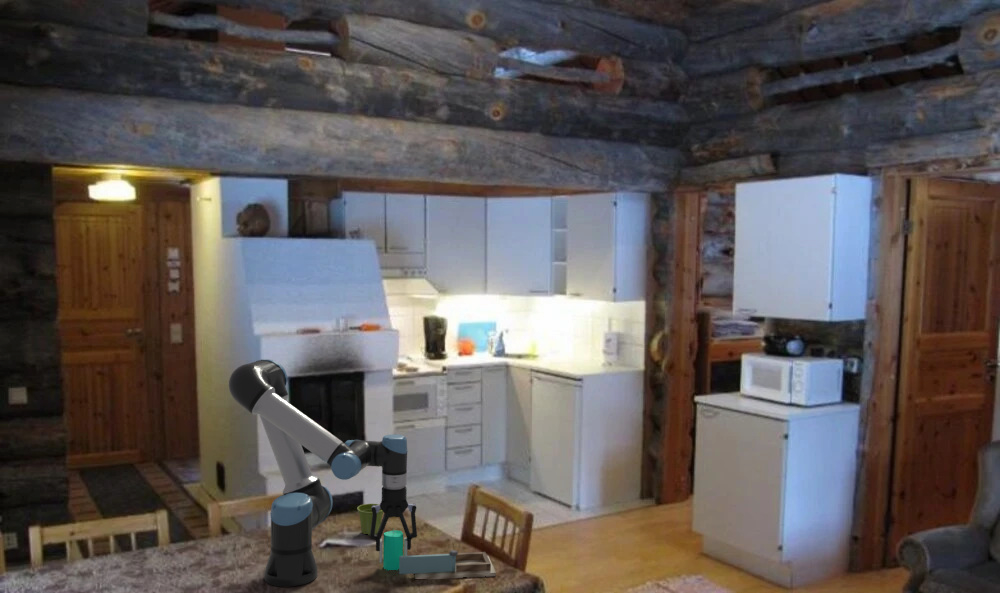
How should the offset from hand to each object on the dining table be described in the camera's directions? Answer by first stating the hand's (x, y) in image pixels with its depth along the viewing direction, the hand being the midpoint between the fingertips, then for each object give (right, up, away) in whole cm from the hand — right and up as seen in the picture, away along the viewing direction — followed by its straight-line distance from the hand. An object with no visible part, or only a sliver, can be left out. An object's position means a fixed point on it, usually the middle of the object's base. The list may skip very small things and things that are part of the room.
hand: (393, 560), depth 249 cm
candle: (0, -2, 0) cm, 2 cm away
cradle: (+18, -2, -1) cm, 19 cm away
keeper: (+11, -1, -7) cm, 13 cm away
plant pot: (-12, -1, +30) cm, 33 cm away
